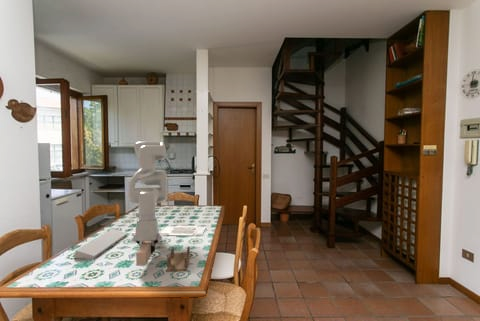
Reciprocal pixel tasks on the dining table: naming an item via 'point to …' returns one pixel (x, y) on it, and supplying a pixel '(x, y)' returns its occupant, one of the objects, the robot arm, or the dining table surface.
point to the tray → (183, 230)
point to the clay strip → (144, 253)
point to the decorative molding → (99, 244)
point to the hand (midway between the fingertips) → (147, 252)
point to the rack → (178, 261)
